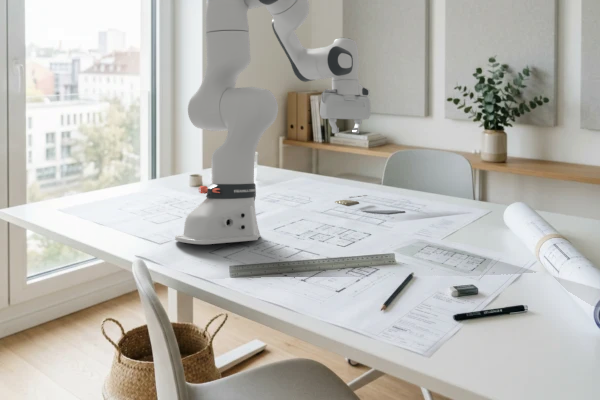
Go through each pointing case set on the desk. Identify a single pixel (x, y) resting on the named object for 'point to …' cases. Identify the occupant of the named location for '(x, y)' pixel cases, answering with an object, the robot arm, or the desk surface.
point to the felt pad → (384, 211)
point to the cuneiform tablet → (348, 201)
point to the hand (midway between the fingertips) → (345, 133)
